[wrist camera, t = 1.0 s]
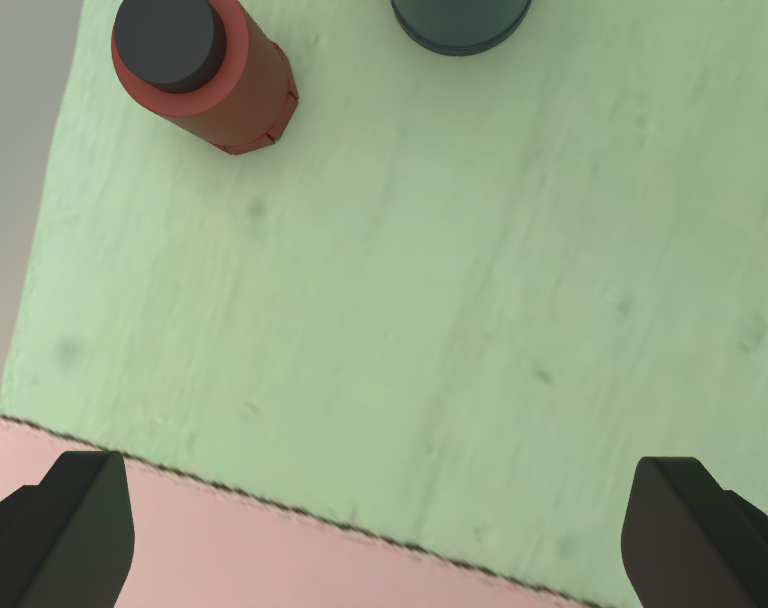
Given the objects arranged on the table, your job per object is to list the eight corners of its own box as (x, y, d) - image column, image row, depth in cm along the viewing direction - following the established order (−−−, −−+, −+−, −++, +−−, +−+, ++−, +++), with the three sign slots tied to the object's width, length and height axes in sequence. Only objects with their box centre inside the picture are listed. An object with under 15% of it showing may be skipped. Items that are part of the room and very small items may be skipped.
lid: (219, 17, 35) (134, -76, 26) (316, 71, 35) (264, -4, 26) (167, 118, 36) (65, 63, 27) (261, 172, 36) (192, 135, 26)
